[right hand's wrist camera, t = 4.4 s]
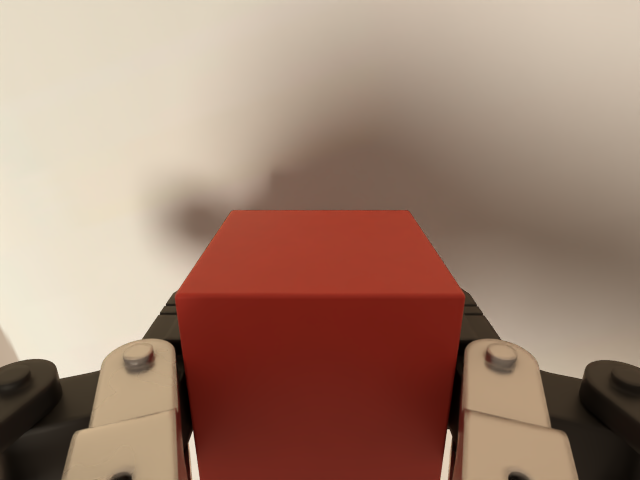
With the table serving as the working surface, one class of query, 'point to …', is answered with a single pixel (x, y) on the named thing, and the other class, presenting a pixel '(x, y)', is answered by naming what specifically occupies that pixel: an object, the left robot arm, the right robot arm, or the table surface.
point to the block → (320, 347)
